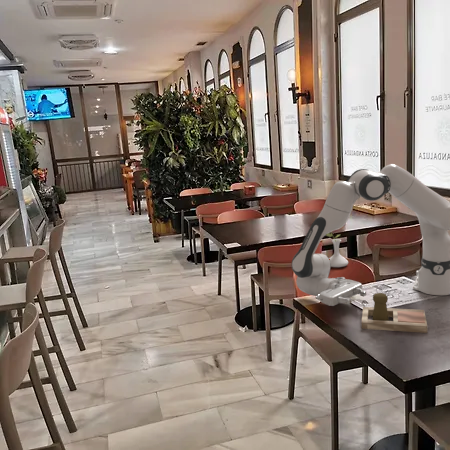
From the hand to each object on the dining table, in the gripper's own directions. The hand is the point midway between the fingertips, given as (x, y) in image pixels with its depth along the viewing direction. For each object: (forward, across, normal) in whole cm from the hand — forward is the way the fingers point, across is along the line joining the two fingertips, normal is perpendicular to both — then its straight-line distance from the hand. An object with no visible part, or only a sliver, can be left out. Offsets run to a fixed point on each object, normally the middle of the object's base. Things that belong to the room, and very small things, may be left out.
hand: (358, 297), depth 176 cm
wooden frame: (+14, +2, +7) cm, 16 cm away
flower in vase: (-44, +42, +7) cm, 62 cm away
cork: (+10, 0, +7) cm, 12 cm away
